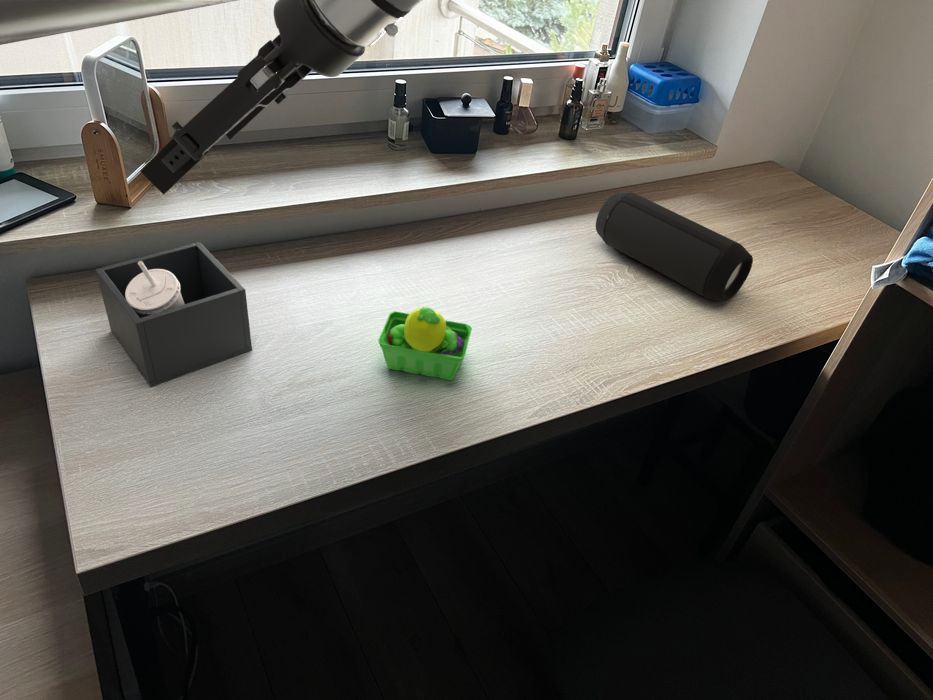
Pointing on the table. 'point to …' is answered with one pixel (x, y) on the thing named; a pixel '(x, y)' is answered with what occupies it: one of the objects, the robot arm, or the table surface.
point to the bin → (179, 314)
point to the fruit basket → (424, 343)
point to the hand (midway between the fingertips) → (190, 153)
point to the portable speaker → (674, 245)
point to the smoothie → (153, 291)
